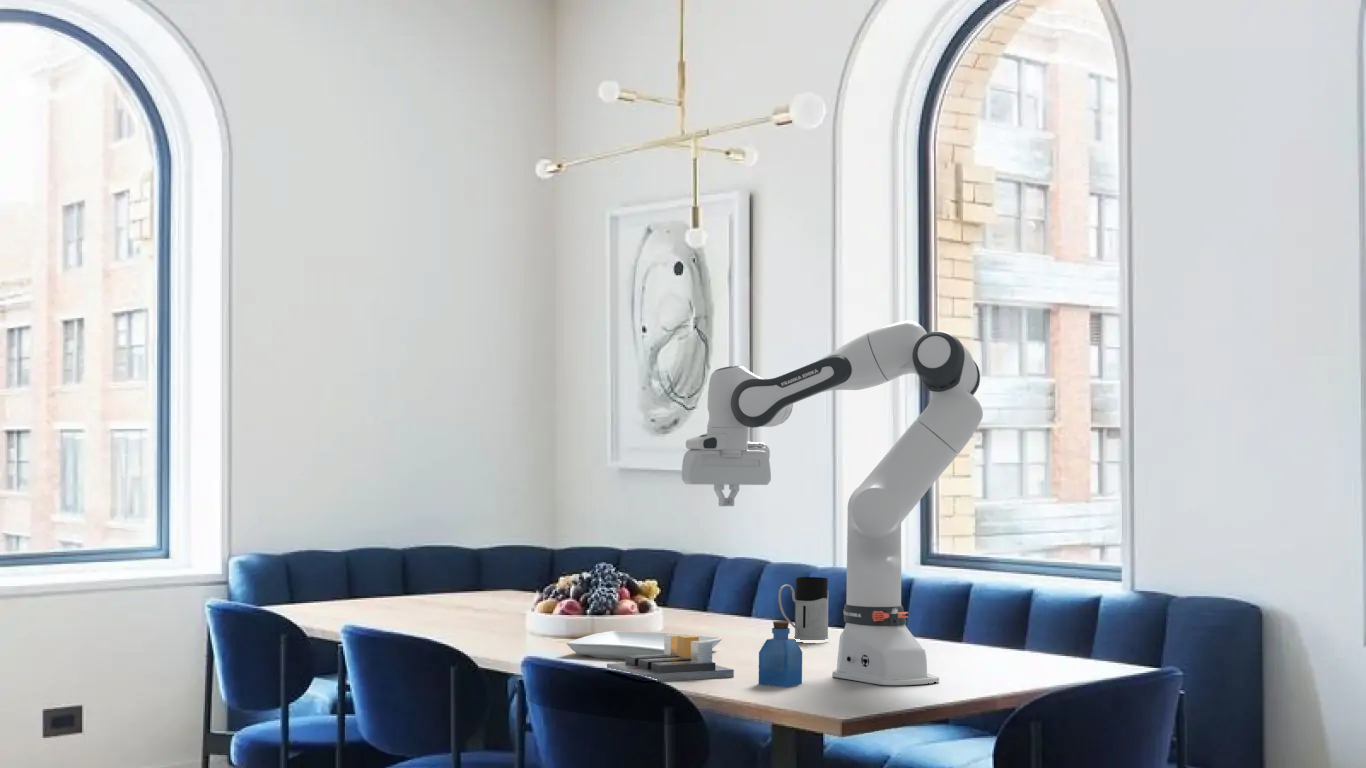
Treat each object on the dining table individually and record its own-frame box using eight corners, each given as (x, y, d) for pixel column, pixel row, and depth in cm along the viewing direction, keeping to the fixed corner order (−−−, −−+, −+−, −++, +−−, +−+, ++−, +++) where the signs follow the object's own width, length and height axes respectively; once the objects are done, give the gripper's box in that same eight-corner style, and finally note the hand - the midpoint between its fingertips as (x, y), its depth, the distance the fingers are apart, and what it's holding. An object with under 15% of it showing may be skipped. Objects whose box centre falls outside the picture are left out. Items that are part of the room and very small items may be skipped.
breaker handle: (698, 656, 337) (698, 637, 337) (684, 657, 336) (684, 637, 336) (691, 655, 340) (691, 635, 340) (677, 655, 339) (677, 635, 339)
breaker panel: (733, 677, 333) (734, 641, 333) (643, 682, 324) (643, 645, 324) (694, 666, 348) (695, 632, 348) (606, 671, 339) (607, 636, 339)
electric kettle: (837, 642, 397) (838, 578, 397) (789, 645, 389) (790, 580, 389) (814, 638, 404) (814, 576, 405) (767, 641, 396) (768, 578, 397)
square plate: (563, 659, 361) (564, 641, 361) (612, 645, 386) (612, 628, 387) (682, 666, 351) (682, 648, 352) (723, 652, 377) (723, 635, 377)
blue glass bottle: (786, 687, 320) (787, 624, 321) (758, 684, 323) (759, 622, 324) (801, 683, 325) (802, 621, 326) (773, 681, 329) (774, 619, 329)
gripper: (762, 442, 367) (761, 505, 366) (678, 440, 357) (677, 505, 357) (776, 442, 361) (775, 506, 361) (692, 440, 352) (691, 506, 351)
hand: (726, 506), depth 359 cm, fingers closed
